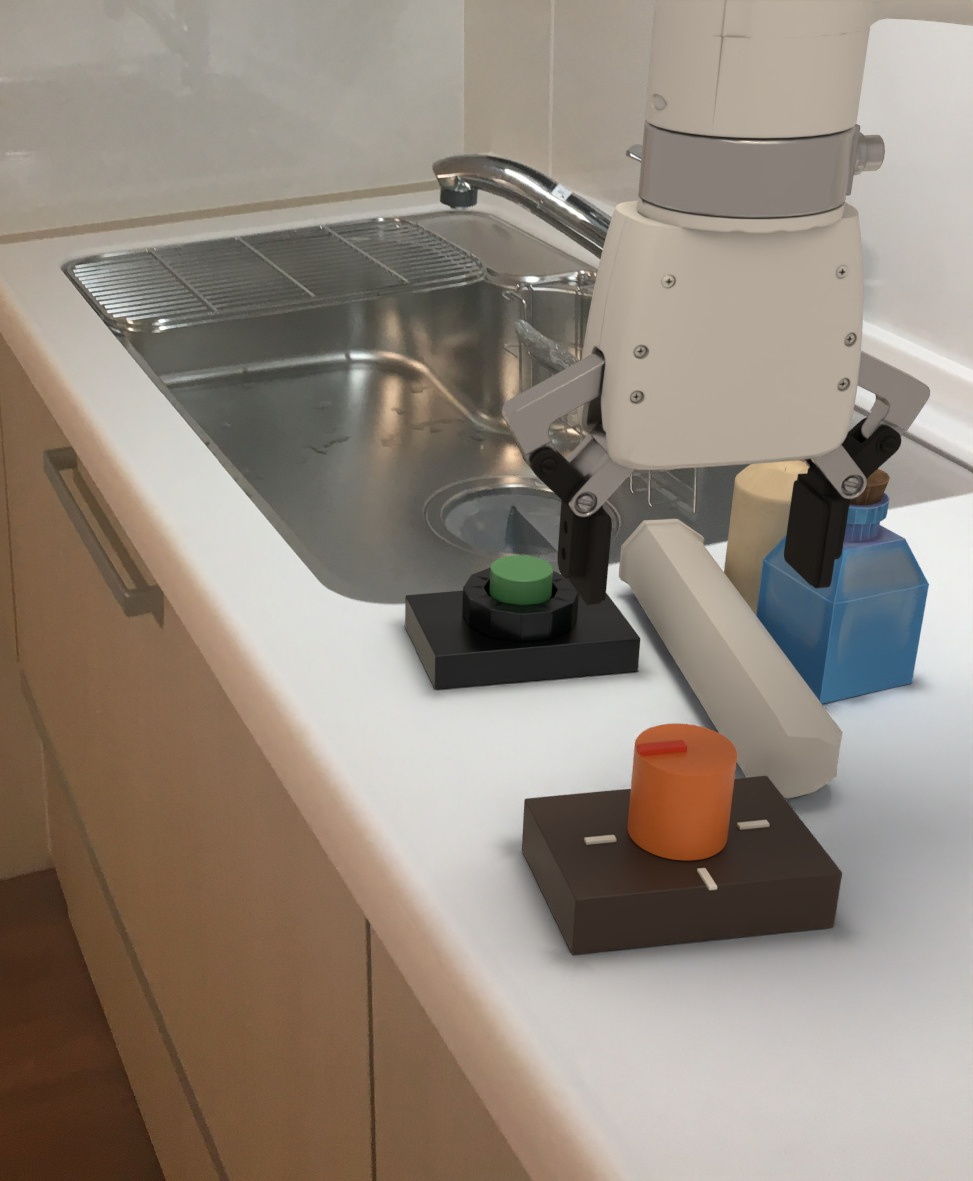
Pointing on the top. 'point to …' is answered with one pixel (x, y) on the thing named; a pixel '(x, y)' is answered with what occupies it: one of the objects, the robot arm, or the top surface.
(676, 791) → the dial knob
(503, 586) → the button
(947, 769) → the top surface
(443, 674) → the button housing
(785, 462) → the candle
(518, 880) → the top surface
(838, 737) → the tube
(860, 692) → the perfume bottle
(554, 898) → the dial block
